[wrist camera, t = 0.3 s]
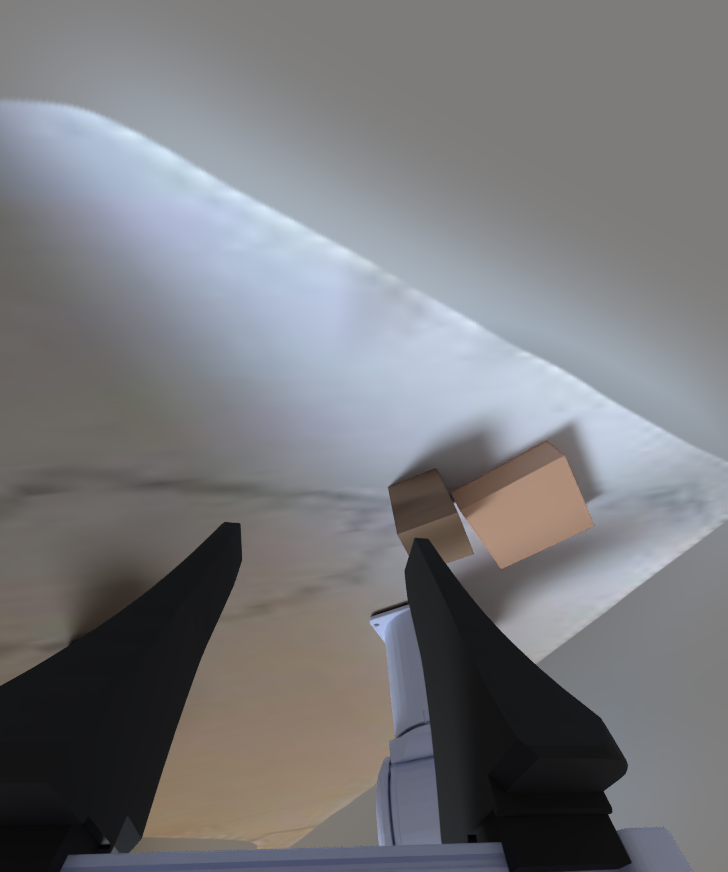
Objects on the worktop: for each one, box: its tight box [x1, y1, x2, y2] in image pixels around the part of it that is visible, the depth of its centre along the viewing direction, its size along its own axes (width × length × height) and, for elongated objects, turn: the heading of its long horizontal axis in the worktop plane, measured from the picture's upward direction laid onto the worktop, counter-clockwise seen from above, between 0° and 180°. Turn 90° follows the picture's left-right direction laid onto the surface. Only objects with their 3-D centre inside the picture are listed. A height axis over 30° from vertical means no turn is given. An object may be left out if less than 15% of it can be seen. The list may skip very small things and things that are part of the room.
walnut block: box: [388, 469, 474, 563], centre depth 21 cm, size 4×4×5 cm
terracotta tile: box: [451, 441, 595, 569], centre depth 23 cm, size 8×8×2 cm
